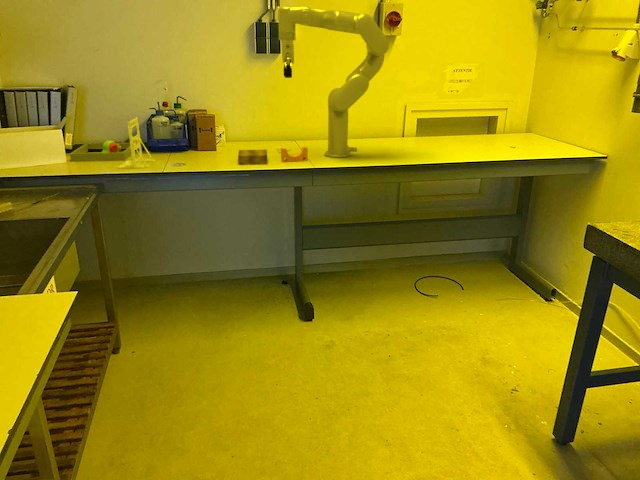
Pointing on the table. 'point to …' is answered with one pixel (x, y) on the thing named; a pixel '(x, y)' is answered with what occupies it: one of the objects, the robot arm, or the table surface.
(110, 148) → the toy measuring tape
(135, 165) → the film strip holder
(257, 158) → the walnut block
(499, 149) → the table surface
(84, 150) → the grey square tray
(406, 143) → the table surface
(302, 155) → the pipe clamp
